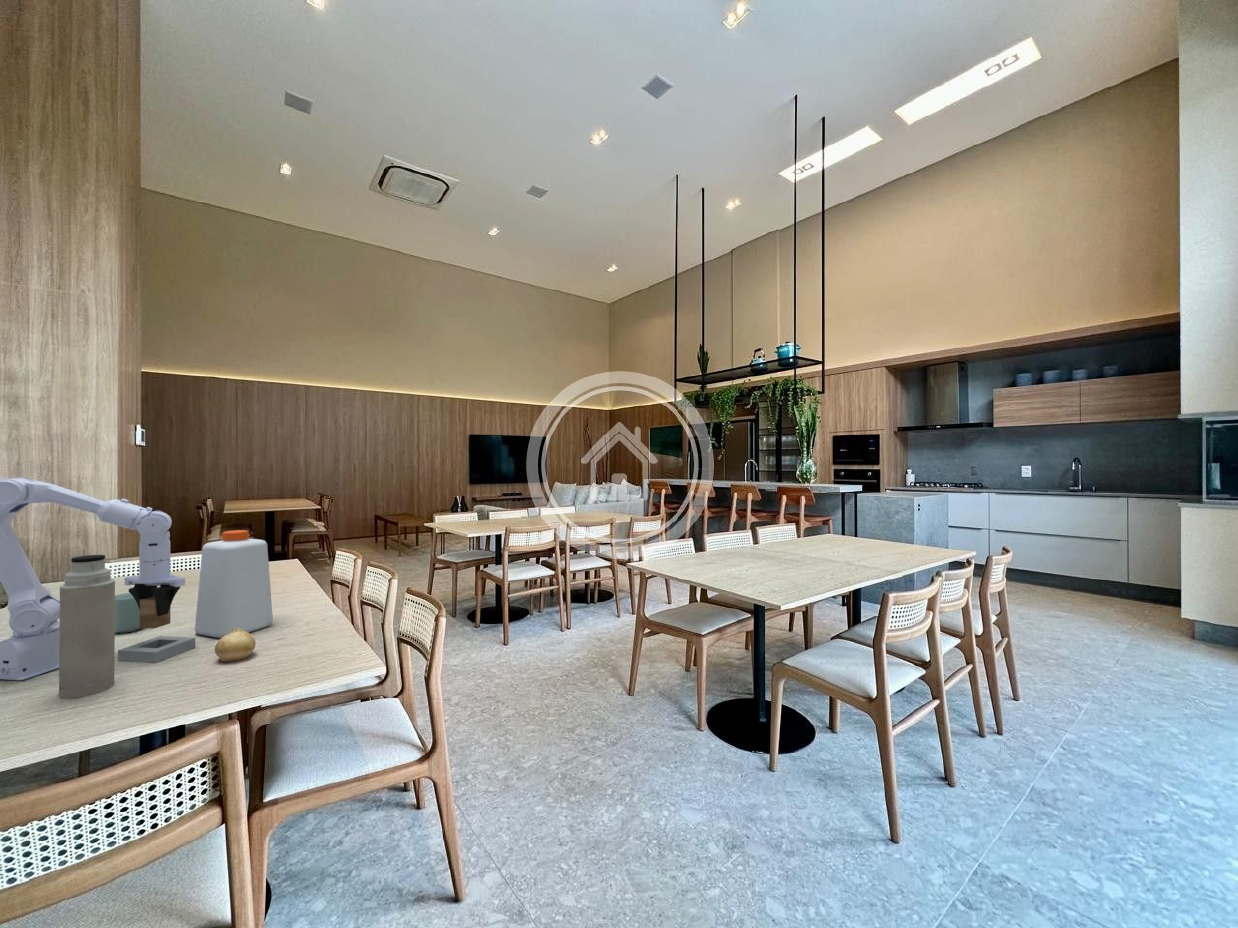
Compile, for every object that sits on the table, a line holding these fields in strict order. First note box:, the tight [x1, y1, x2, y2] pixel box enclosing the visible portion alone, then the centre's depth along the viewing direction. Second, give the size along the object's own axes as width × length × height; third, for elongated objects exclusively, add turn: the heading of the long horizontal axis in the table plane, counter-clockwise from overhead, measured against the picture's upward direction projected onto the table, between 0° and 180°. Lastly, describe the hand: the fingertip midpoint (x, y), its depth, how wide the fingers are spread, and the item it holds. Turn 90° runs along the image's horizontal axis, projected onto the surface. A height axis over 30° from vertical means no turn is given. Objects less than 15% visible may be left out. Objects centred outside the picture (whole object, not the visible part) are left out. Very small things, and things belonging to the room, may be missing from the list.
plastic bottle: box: [194, 529, 274, 639], centre depth 143 cm, size 15×15×28 cm
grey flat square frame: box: [117, 635, 196, 664], centre depth 125 cm, size 10×10×2 cm
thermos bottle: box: [58, 554, 116, 699], centre depth 105 cm, size 8×8×28 cm
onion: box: [214, 628, 257, 663], centre depth 122 cm, size 8×8×7 cm
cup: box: [115, 592, 141, 634], centre depth 141 cm, size 8×8×10 cm
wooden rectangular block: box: [140, 596, 172, 629], centre depth 126 cm, size 4×4×7 cm
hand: (154, 614), depth 126 cm, fingers closed on wooden rectangular block, 4 cm apart
